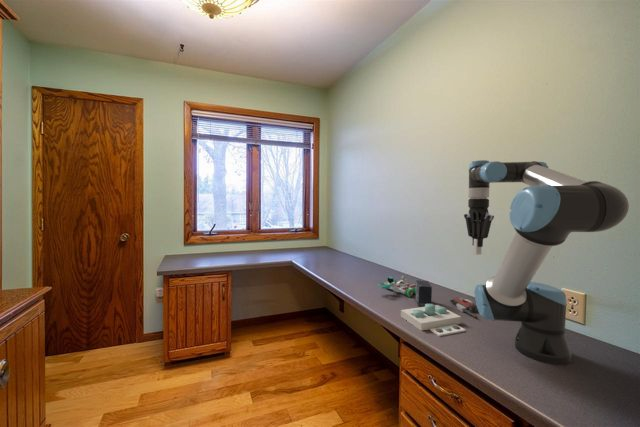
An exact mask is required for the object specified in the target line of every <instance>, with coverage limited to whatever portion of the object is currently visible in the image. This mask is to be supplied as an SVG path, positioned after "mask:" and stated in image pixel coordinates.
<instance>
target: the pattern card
mask: <svg viewBox="0 0 640 427" xmlns="http://www.w3.org/2000/svg"><path fill="white" fill-rule="evenodd" d="M429 331H430V332H432V333H434V334H435V335H437V336H438V337H443V336H447V335H452V334H458V333H459V334H460V333H463V332H467V329H465V328H464V327H462V326H459V324H456V325H450V326H444V327H439V328H433V329H429Z"/></svg>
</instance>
